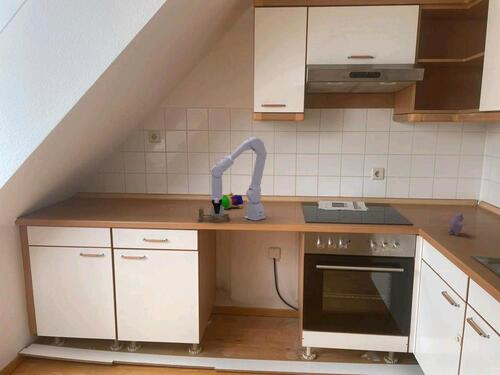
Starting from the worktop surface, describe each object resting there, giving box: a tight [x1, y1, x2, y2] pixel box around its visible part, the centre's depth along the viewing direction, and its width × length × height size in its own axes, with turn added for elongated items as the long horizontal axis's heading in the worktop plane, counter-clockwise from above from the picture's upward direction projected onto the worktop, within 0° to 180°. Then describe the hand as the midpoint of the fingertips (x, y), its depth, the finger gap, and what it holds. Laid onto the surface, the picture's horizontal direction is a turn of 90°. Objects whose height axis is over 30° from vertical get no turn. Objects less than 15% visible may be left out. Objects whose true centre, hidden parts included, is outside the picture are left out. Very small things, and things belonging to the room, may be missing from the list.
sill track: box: [198, 205, 230, 223], centre depth 199 cm, size 16×7×7 cm, turn 93°
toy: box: [220, 192, 244, 210], centre depth 227 cm, size 12×9×15 cm
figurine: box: [447, 212, 466, 237], centre depth 173 cm, size 12×6×10 cm, turn 170°
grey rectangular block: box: [210, 206, 225, 216], centre depth 199 cm, size 7×2×6 cm, turn 93°
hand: (217, 213), depth 199 cm, fingers closed on grey rectangular block, 2 cm apart
